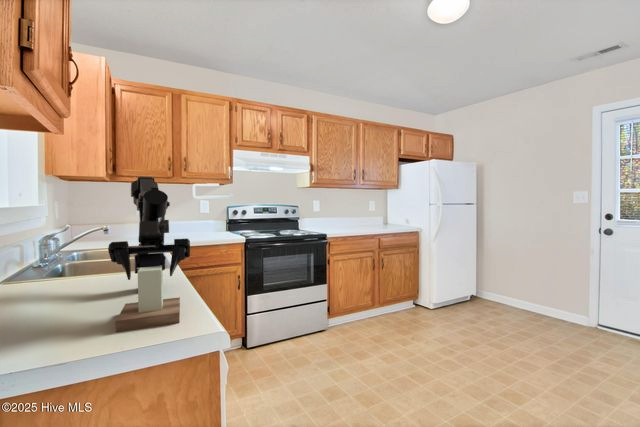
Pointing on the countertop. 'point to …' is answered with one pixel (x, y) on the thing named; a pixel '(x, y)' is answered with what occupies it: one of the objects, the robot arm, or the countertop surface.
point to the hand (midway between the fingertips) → (150, 277)
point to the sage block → (150, 289)
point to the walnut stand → (148, 316)
